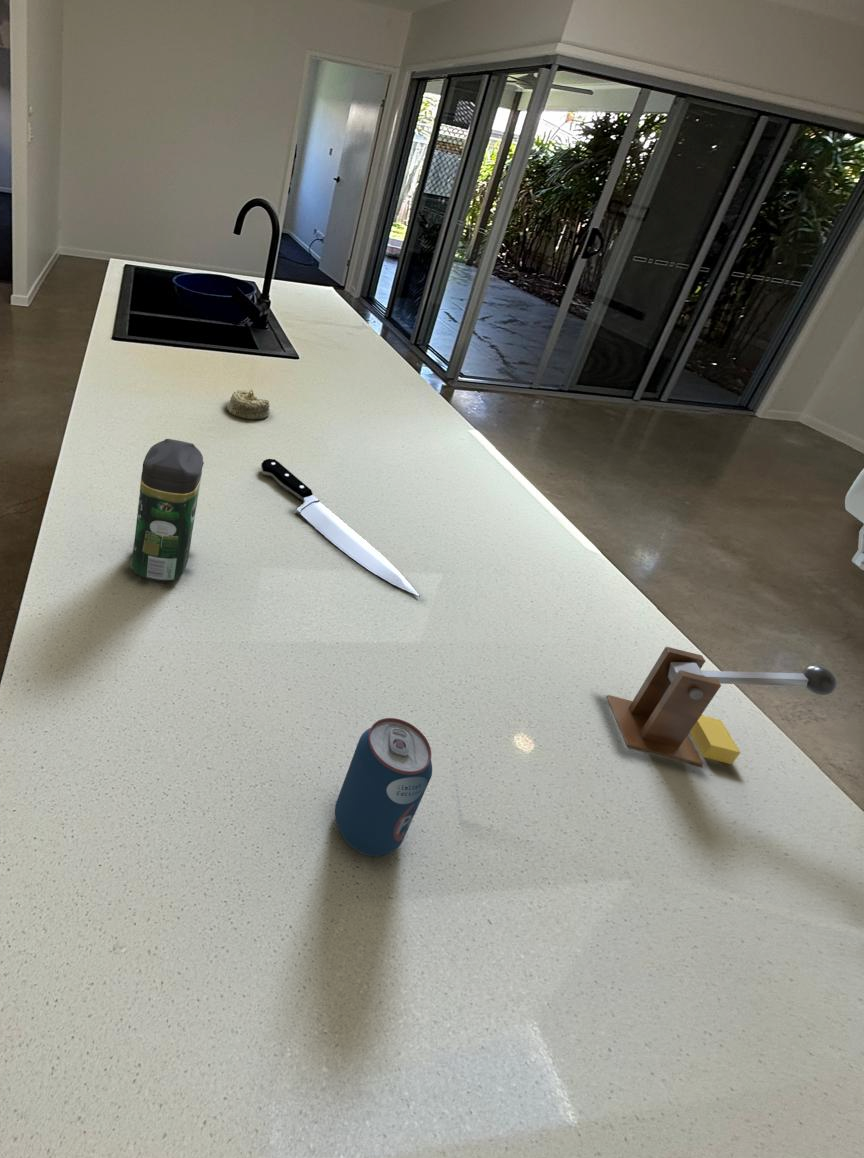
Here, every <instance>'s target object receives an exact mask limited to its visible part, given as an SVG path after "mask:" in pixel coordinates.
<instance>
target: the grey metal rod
mask: <svg viewBox="0 0 864 1158" xmlns="http://www.w3.org/2000/svg"><path fill="white" fill-rule="evenodd" d="M679 670H681V671H685V672H689V673H693V674H697V675H701V676H705V677H709V678H713V679H717V680H718V681H719V683H720V684H721V685H752V686H781V687H782V686H783V687H784V686H786V687H789V686H790V687H805V688H806V689H807V690H808V691H809V692H811V693H813V694H815V695H820V696H828V695H831V694H832V693H834V692H835V691H836V690H837V688H838V679H837V676H836V674H835V673H833V671H832V670H830V669H829V668H827V667H825V666H821V665H809V666H807V667H806V668H804V669H803V670H802V672H772V671H771V672H768V671H767V672H766V671H765V672H763V671H728V670H701V669H700V668H699V667H698V665H697V663H692V662H671V663H670V669H669V674H668V678H669V680H670V682H671V683H672V681H673V679H674V678H675V676H676V675H677V673H678V672H679Z"/></svg>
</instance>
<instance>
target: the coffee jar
mask: <svg viewBox="0 0 864 1158" xmlns="http://www.w3.org/2000/svg"><path fill="white" fill-rule="evenodd" d="M204 465H205V462H204V456H203V454H202V452H201V451H200V450H199V448H198V447H196V445H195V444H194V443H191V442H188V441H183V440H178V439H172V438H166V439H164V440H161V441H158V442H157V443H155V444H153V445H151V447H150V448H149V450H148V451H147V453H146V454H145V457H144V459H143V462H142V469H141V474H140V486H139V496H138V506H137V513H136V523H135V533H134V540H133V548H132V556H131V563H130V564H131V569H132V570H133V572H134V573H135V574H137V575H138V576H140V577H142V578H144V579H147V580H149V581H153V582H159V583H160V582H162V583H163V582H173V581H176V580H178V579H180V578H181V577H182V576H183V574H184V572H185V570H186V568H187V565H188V562H189V557H190V550H191V543H192V538H193V537H192V536H193V530H194V524H195V517H196V511H197V507H198V499H199V494H200V493H199V492H200V487H201V480H202V476H203V475H202V473H203V467H204Z"/></svg>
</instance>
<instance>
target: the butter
mask: <svg viewBox="0 0 864 1158" xmlns="http://www.w3.org/2000/svg"><path fill="white" fill-rule="evenodd" d="M689 734H690V736H691V737H692V740H693V741H694V743H695V745H696V747H697V749H698V751H699V753H700V755H701V756H702V757H703V758H706V759H709V760H714V761H717V762H720V763H724V764H728V765H733V763H735V761H736V759H737V758H738V757H739V755H740V754H741V751H740V749H739V748H738V746H737V744H736V743H735V741H734V739H733V738H732V736H731V734H730V733H729V731H728V729H727V728H726V726H725V723H724V722H723V721H722V720H721V719H719V718H714V717H711V716H707V715H703V714H702V715H701V716H700V718H699V719H698V721H697V722H696V724H695V725H694V726H693V728H692V729H691V731H690V732H689Z"/></svg>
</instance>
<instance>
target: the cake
mask: <svg viewBox="0 0 864 1158" xmlns="http://www.w3.org/2000/svg"><path fill="white" fill-rule="evenodd" d="M270 407H271V406H270V400H269V399H268V398H264V397H262V398H257V396H256V395H255V394H254V390H253V389H250V390H249V389H238V390H236V391H233V393H232V395H231V397H230V400H229V403H228V404H227V405H226V409H227V411H228V412H229V413H230V414H232V415H234V416H235V417H238V418H241V419H247V420H261V419H264V418H267V417H269V416H270V413H271V411H270V410H271V409H270Z"/></svg>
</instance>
